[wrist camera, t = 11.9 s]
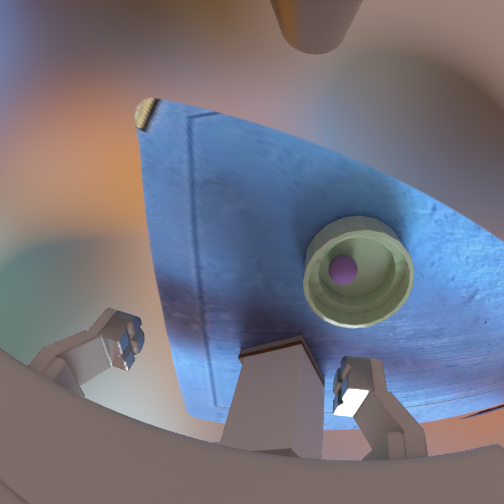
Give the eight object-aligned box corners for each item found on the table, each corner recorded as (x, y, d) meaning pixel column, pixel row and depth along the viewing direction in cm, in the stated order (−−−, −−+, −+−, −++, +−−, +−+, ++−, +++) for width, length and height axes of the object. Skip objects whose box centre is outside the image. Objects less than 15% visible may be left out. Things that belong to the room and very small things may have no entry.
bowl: (314, 205, 34) (315, 220, 30) (415, 225, 32) (429, 242, 28) (296, 296, 40) (294, 319, 36) (385, 310, 39) (391, 333, 34)
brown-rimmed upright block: (240, 349, 47) (174, 557, 16) (301, 334, 43) (267, 577, 12) (269, 389, 50) (229, 568, 20) (324, 378, 47) (307, 576, 16)
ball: (349, 248, 36) (326, 250, 35) (366, 262, 33) (342, 265, 32) (343, 273, 37) (320, 276, 36) (358, 288, 34) (335, 292, 33)
